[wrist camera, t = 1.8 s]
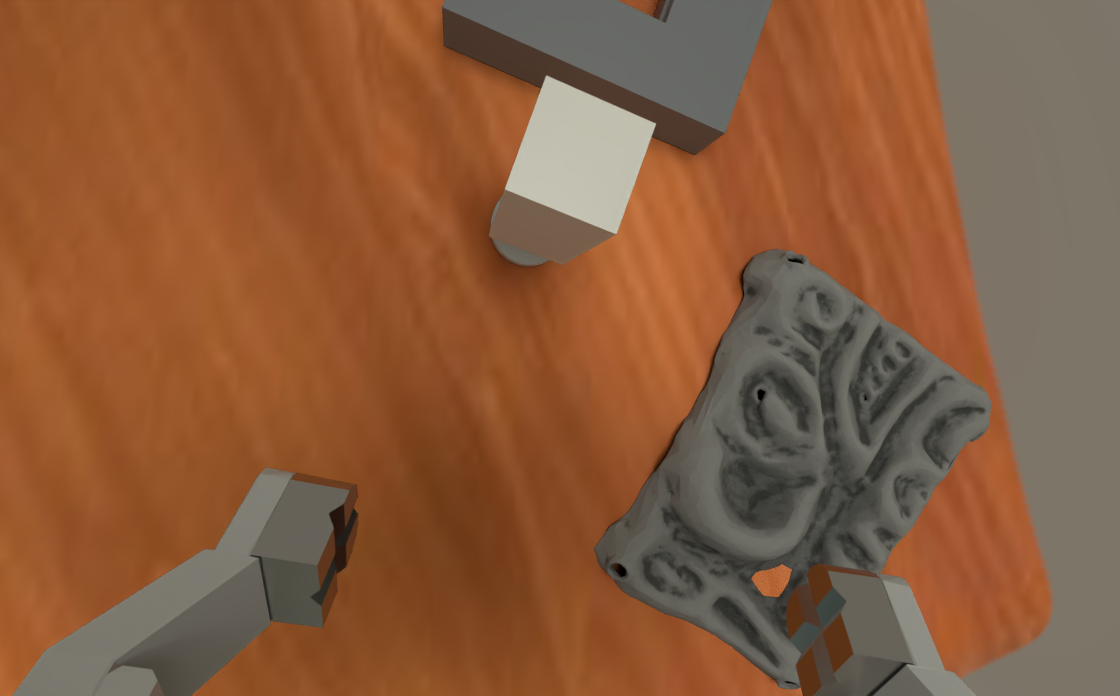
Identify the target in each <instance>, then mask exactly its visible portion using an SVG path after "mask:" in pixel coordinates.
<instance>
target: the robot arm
mask: <svg viewBox="0 0 1120 696" xmlns="http://www.w3.org/2000/svg"><path fill="white" fill-rule="evenodd" d="M357 498H358V492H357V485H356V484H351V483H346V482H341V481H336V480H331V479H326V478H320V477H315V476H310V475H305V474H300V473H295V472H290V471H284V470H278V469H273V468H267V467H266V468H265V469H264V470H263V471H262V472H261V473H260V474H259V475H258V476H257V478H256V480H255V481H254V483H253V485H252V487H251V488H250V490H249V492H248V493H247V495H246V497H245V498H244V500H243V502H242V503H241V505H240V507H239V509H238V510H237V512H236V514H235V515H234V517H233V519H232V520H231V522H230V524H229V525H228V527H227V529H226V531H225V532H224V534H223V536H222V537H221V539H220V541H219V542H218V544H217V546H216V547H215V549H214V550H210V549H204V550H202V551H201V552H199V553H197V554H196V555H194V556H193V557H191V558H190V559H188V560H186V561H185V562H183V563H182V564H180V565H178V566H177V567H175V568H174V569H172V570H171V571H169V572H167V573H166V574H164V575H163V576H161V577H160V578H158V579H156V580H155V581H153V582H152V583H150V584H149V585H147V586H145V587H144V588H142V589H141V590H139V591H138V592H136V593H134V594H133V595H131V596H130V597H128V598H127V599H125V600H123V601H122V602H120V603H119V604H117V605H116V606H114V607H112V608H111V609H109V610H108V611H106V612H105V613H103V614H101V615H100V616H98V617H97V618H95V619H94V620H92V621H90V622H89V623H87V624H86V625H84V626H83V627H81V628H79V629H78V630H76V631H75V632H73V633H72V634H70V635H68V636H67V637H65V638H64V639H62V640H61V641H59V642H57V643H56V644H54V645H53V646H51V647H50V648H48V649H46V650H45V652H44V653H43V654H42V656H41V657H40V658H39V660H38V661H37V662H36V664H35V665H34V667H33V668H32V669H31V671H30V672H29V673H28V675H27V676H26V677H25V679H24V680H23V682H22V683H21V684H20V686H19V687H18V688H17V690H16V691H15V692H14V694H13V695H12V696H191V695H192V694H193V693H194V692H196V691H197V690H198V689H199V688H200V687H201V686H202V685H203V684H205V683H206V682H207V681H208V680H209V679H210V678H211V677H212V676H213V675H215V674H216V673H217V672H218V671H219V670H220V669H221V668H222V667H224V666H225V665H226V664H227V663H228V662H229V661H230V660H231V659H232V658H234V657H235V656H236V655H237V654H238V653H239V652H240V651H241V650H243V649H244V648H245V647H246V646H247V645H248V644H249V643H250V642H251V641H253V640H254V639H255V638H256V637H257V636H258V635H259V634H260V633H261V632H263V631H264V630H265V629H266V628H267V627H268V626H269V625H270V624H271V622H270V621H276V622H283V623H291V624H298V625H306V626H314V627H321V628H323V626H324V624H325V621H326V619H327V616H328V614H329V611H330V608H331V606H332V603H333V601H334V598H335V596H336V593H337V574H338V573H339V572H340V571H342V570H343V569H344V568H346V567H347V564H348V561H349V559H350V556H351V553H352V550H353V546H354V542H355V539H356V535H357V527H358V513H357V512H356V511H355V509H354V505H355V503H356V500H357ZM807 577H808V581H809V583H806V584H804V585H802V586H799V587H797V588H796V589H795V590H794V592H793V593H792V595H791V596H790V598H789V601H788V606H787V611H786V621H787V629H788V634H789V639H790V641H791V642H792V643H793V645H794V646H795V647H796V648H797V650H798V651H799V652H800V653H801V655H800V657H799V659H798V661H797V663H796V669H797V673H798V678H799V682H800V686H801V690H802V694H803V696H976V695H975V694H974V693H973V692H972V691H971V690H970V689H969V687H968V686H967V685H966V684H965V683H964V682H963V681H962V680H961V679H960V678H959V677H958V676H957V675H956V674H955V673H954V672H951V671H946V670H945V669H944V666H943V664H942V661H941V659H940V657H939V654H938V652H937V650H936V647H935V645H934V643H933V640H932V638H931V635H930V633H929V631H928V628H927V626H926V624H925V621H924V619H923V617H922V614H921V612H920V609H919V607H918V605H917V602H916V600H915V598H914V595H913V593H912V590H911V588H910V586H909V584H908V583H907V582H906V581H905V580H904V579H903V578H901V577H897V576H891V575H885V574H878V573H872V572H871V571H865V570H859V569H852V568H846V567H839V566H833V565H827V564H817V565H814V566H812V568H811V569H810V570H809V571H808V573H807Z"/></svg>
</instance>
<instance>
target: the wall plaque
mask: <svg viewBox="0 0 1120 696" xmlns="http://www.w3.org/2000/svg"><path fill="white" fill-rule="evenodd" d="M788 259H792V260H794V261H796V262H798V263H796V262H790V261H788ZM743 281H744V286H743V289H744V294H745V295H744V298H743V301H742V303H741V304H740V306H739V307H738V309H737V311H736V313H735V315H734V317H733V318H732V320H731V322H730V324H729V326H728V328H727V329H726V331H725V332H724V334H723V336H722V338H721V342H720V346H719V348H718V351H717V354H716V357H715V361H714V365H713V369H712V372H711V376H710V379H709V381H708V383H707V385H706V387H705V389H704V390H703V391H702V392H701V393H700V394H699V397H698V399H697V401H696V403H695V405H694V406H693V408H692V410H691V412H690V413H689V415H688V416H687V417H686V418H685V419H684V420H683V425H682V426H681V428H680V430H679V432H678V433H677V435H676V437H675V440H674V443H673V445H672V447H671V449H670V450H669V452H668V454H667V456H666V457H665V459H664V460H663V461H662V463H661V464H660V465H659V467H658V469H657V470H656V471H655V472H653V473H652V474H651V475H650V477H649V478H648V480H647V481H646V483H645V484H644V486H643V487H642V489H641V490H640V493H639V495H638V497H637V499H636V500H635V502H634V504H633V505H632V507H631V509H630V510H629V511H628V512H627V513H626V514H625V515H624V516H623V517H622V518H621V519H620V520H618V521H617V522H615V523H614V524H612V525H611V526H610V527H609V528H608V530H607V531H606V533H605V534H604V536H603V537H602V538H601V540H600V541H599V542H598V544H597V545H596V547H595V548H594V550H595V553H596V556H597V560H598V563H599V565H600V566H601V568H602V569H603V570H605V571H606V572H607V573H608V574H609V575H610V576H611V577H612V578H613V579H614V581H615V582H616V584H617V585H618V587H619V588H620V589H621V590H622V591H624V592H625V593H626V594H628V595H629V596H631V597H633V598H635V599H638V600H640V601H642V602H643V603H645V604H647V605H649V606H651V607H653V608H655V609H656V610H658V611H660V612H662V613H664V614H667V615H670V616H674V617H677V618H680V619H683V620H685V621H688V622H690V623H692V624H694V625H695V626H698V627H700V628H702V629H704V630H706V631H708V632H710V633H711V634H713V635H716V636H717V637H718V638H719V639H721V640H722V641H724V642H725V643H727V644H729V645H730V646H732V647H733V649H735V650H736V651H737V652H739V653H740V654H741V655H743V656H744V657H745V658H746V659H747V660H749V661H750V662H751V663H752V664H753V665H755V666H756V667H757V668H759V669H760V670H761V671H762V672H763V673H765V674H766V675H768V676H770V677H771V678H773V679H775V680H776V682H777V685H778V687H780V688H783V689H798V688H801V686H800V682H799V678H798V673H797V669H796V663H797V661H798V659H799V657H800V655H801V653H800V652H799V651H798V650H797V648H796V647H795V646H794V645H793V643H792V642H791V641H790V639H789V634H788V629H787V621H786V611H787V606H788V601H789V598H790V596H791V595H792V593H793V592H794V590H795V589H796V588H797V587H799V586H802V585H804V584H806V583H809V581H808V577H807V573H808V571H809V570H810V569H811V568H812V566H814V565H817V564H827V565H833V566H839V567H846V568H852V569H859V570H865V571H871V572H872V573H878V574H880V573H881V572H882V570H883V568H884V566H885V564H886V562H887V559H888V557H889V555H890V553H891V551H892V549H893V548H894V547H895V546H896V545H897V544H898V542H899V541H900V540H901V539H902V537H904V536H905V535H906V534H907V533H908V532H909V531H910V530H911V529H912V527H913V526H914V524H915V522H916V521H917V519H918V517H919V515H920V513H921V511H922V510H923V508H924V507H925V505H926V504H927V503H928V501H929V499H930V497H931V495H932V492H933V490H934V488H935V487H936V486H937V485H938V484H939V483H940V482H941V481H942V480H943V479H944V478H945V476H946V475H947V474H948V472H949V471H950V469H951V467H952V465H953V463H954V461H955V459H956V458H957V456H958V454H959V452H960V450H961V449H962V448H963V447H964V446H965V445H966V444H967V443H968V442H969V441H971V442H973V441H975V440H977V439H978V438H980V437H981V436H982V435H983V434H984V433H985V432H986V430H987V429H988V427H989V424H990V410H991V407H992V404H991V401H990V399H989V397H988V395H987V393H986V391H985V390H984V389H983V388H982V387H981V386H978V385H976V384H974V383H973V382H971V381H970V380H968V379H967V378H965V377H964V376H962V375H961V374H960V373H958V372H957V371H955V370H954V369H953V368H951V367H950V366H949V365H947V364H946V363H944V362H943V361H942V360H940V359H939V358H938V357H936V356H935V355H934V354H932V353H931V352H930V351H928V350H927V349H926V348H924V347H923V346H922V345H921V344H920V343H919V342H917V341H916V340H915V339H914V338H913V337H912V336H911V335H910V334H908V333H907V332H905V331H903V330H902V329H900V328H898V327H897V326H895V325H893V324H891V323H890V322H888V321H886V320H884V319H883V318H882V316H881V315H880V314H879V313H878V312H877V311H876V310H875V309H873V308H872V307H870V306H868V305H867V304H865V303H864V302H863V301H862V300H860V299H859V298H858V297H856V296H855V295H854V294H853V293H851V292H850V291H849V290H847V289H846V288H844V287H843V286H842V285H840V284H839V283H838V282H837V281H835V280H834V279H833V278H832V277H831V276H829V275H828V274H827V273H825V272H824V271H822V270H820V269H819V268H817V267H816V266H814V265H812V264H811V263H809V260H808V258H807V257H805V256H804V255H797V254H795V253H794V252H793V251H792V250H790V251H785V250H778V249H776V250H769V251H766V252H763V253H760V254H757V255H755V256H753V258H752V259H751V261H750V262H749V264H748V265H747V267H746V269H745V271H744V274H743ZM872 368H874V370H873V369H872ZM759 389H762V390H763V391H765V394H764V396H763V399H762V401H760V400H759V399H758V395H757V391H758V390H759ZM865 395H866V398H867V400H865V401H864V399H865ZM614 563H616V564H621V565H622V566H623V567H624V568H625V569H626V575H625V576H620V575H619V574H618V573H617V572H616V571H615V570H614V569H613V567H612V566H613V564H614ZM781 564H783V565H785V566H786V567H788V568H790V569H792V572H791V575H790V579H789V582H788V584H787V586H786V587H785V589H784V591H783V592H782V594H781V595H780V596H779V597H769V596H763V595H762V594H761V593H760V591H759V590H758V588H757V587H756V586H755V584H754V582H753V581H752V579H751V577H752V576H753V575H754V574H755V573H756V572H758V571H761V570H768V569H771V568H774V567H778V566H780V565H781Z"/></svg>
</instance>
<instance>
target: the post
mask: <svg viewBox="0 0 1120 696" xmlns="http://www.w3.org/2000/svg"><path fill="white" fill-rule="evenodd" d="M655 126H656V123H653V122H651V121H649V120H646V119H644V118H642V117H640V116H637V115H635V114H633V113H631V112H628V111H626V110H624V109H621V108H619V107H617V106H615V105H612V104H610V103H608V102H606V101H603V100H601V99H599V98H596V97H594V96H592V95H590V94H587V93H585V92H583V91H581V90H578V89H576V88H574V87H571V86H569V85H567V84H565V83H562V82H560V81H558V80H556V79H553V78H551V77H549V76H546V78H545V80H544V83H543V86H542V89H541V91H540V94H539V97H538V100H537V102H536V105H535V108H534V111H533V113H532V116H531V119H530V121H529V124H528V127H527V130H526V132H525V135H524V138H523V141H522V143H521V146H520V149H519V152H518V154H517V157H516V160H515V163H514V165H513V168H512V171H511V174H510V176H509V179H508V182H507V185H506V187H505V190H504V193H503V196H502V197H501V198H500V200H499V201H498V203H497V204H496V206H495V209H494V211H493V214H492V218H491V222H490V232H489V235H488V236H489V237H491V239H492V242H493V244H494V246H495V248H496V250H497V251H498V252H499V254H500V255H501V256H502V257H503V258H505V259H506V260H507V261H509V262H511V263H513V264H515V265H518V266H523V267H534V266H538V265H541V264H544V263H545V262H547V261H549V260H550V261H553V262H555V263H558V264H561V265H563V264H565V263H567V262H569V261H570V260H572V259H574V258H576V257H577V256H579V255H581V254H583V253H584V252H586V251H588V250H590V249H591V248H593V247H595V246H597V245H598V244H600V243H602V242H604V241H605V240H607V239H609V238H611V237H613V236H614V235H616V234H617V231H618V228H619V225H620V223H621V220H622V217H623V214H624V212H625V209H626V206H627V203H628V200H629V198H630V195H631V192H632V189H633V187H634V184H635V181H636V178H637V175H638V173H639V170H640V167H641V164H642V162H643V159H644V156H645V153H646V150H647V148H648V145H649V142H650V139H651V137H652V134H653V131H654V128H655Z"/></svg>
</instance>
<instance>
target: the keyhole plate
mask: <svg viewBox="0 0 1120 696" xmlns="http://www.w3.org/2000/svg"><path fill="white" fill-rule="evenodd" d="M771 3H772V0H659V2H658V5H657V7H656V10H655V13H654V16H653V17H652V16H650V15H647V14H645V13H643V12H641V11H639V10H637V9H635V8H633V7H630V6H628V5H626V4H624V3H622V2H620V1H618V0H445V1H444V4H443V6H442V13H443V35H444V46H446V47H448V48H450V49H453V50H455V51H457V52H459V53H462V54H464V55H466V56H469V57H471V58H473V59H476V60H478V61H480V62H482V63H485V64H487V65H489V66H492V67H494V68H496V69H498V70H501V71H503V72H505V73H508V74H510V75H512V76H515V77H517V78H519V79H521V80H524V81H526V82H528V83H531V84H533V85H535V86H537V87H540V88H542V86H543V83H544V80H545V78H546V76H549V77H551V78H553V79H556V80H558V81H560V82H562V83H565V84H567V85H569V86H571V87H574V88H576V89H578V90H581V91H583V92H585V93H587V94H590V95H592V96H594V97H596V98H599V99H601V100H603V101H606V102H608V103H610V104H612V105H615V106H617V107H619V108H621V109H624V110H626V111H628V112H631V113H633V114H635V115H637V116H640V117H642V118H644V119H646V120H649V121H651V122H653V123H656V126H655V128H654V131H653V134H652V137H654V138H657V139H659V140H661V141H664V142H666V143H668V144H671V145H673V146H675V147H677V148H680V149H682V150H684V151H687V152H689V153H691V154H693V155H695V154H697V153H698V152H700V151H701V150H702V149H704V148H705V147H707V146H708V145H709V144H711V143H712V142H714V141H715V140H716V139H718V138H719V137H721V136H722V135H723V134H725V132H726V129H727V126H728V124H729V121H730V118H731V115H732V112H733V110H734V107H735V104H736V101H737V98H738V96H739V93H740V90H741V87H742V84H743V82H744V79H745V76H746V73H747V70H748V68H749V65H750V62H751V59H752V56H753V54H754V51H755V48H756V45H757V42H758V40H759V37H760V34H761V31H762V28H763V26H764V23H765V20H766V17H767V14H768V12H769V9H770V6H771Z"/></svg>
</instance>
